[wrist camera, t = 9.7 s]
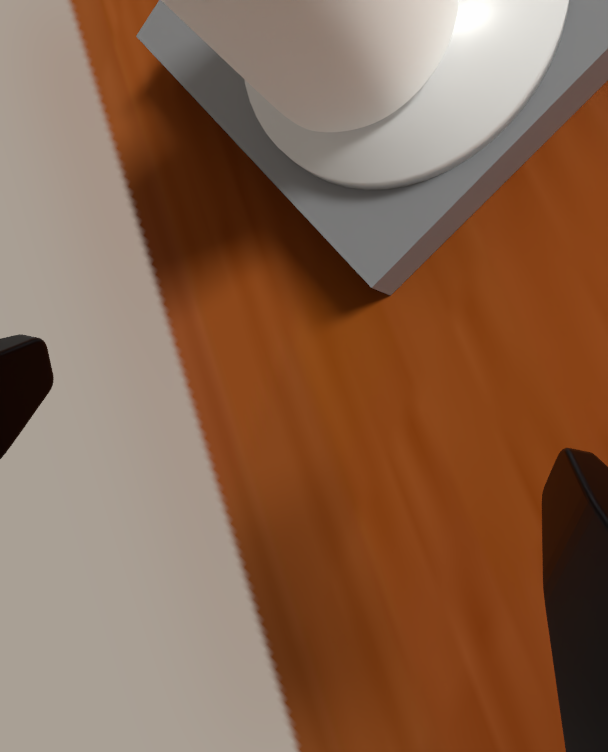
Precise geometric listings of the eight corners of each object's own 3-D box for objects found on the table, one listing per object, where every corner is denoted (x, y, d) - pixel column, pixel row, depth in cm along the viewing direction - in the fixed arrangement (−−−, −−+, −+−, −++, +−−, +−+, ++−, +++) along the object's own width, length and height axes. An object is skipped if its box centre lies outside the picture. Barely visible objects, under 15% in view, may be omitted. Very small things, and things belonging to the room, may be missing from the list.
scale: (683, 4, 15) (720, -80, 12) (390, 295, 19) (364, 285, 16) (373, -219, 19) (342, -328, 16) (176, 68, 23) (121, 24, 20)
